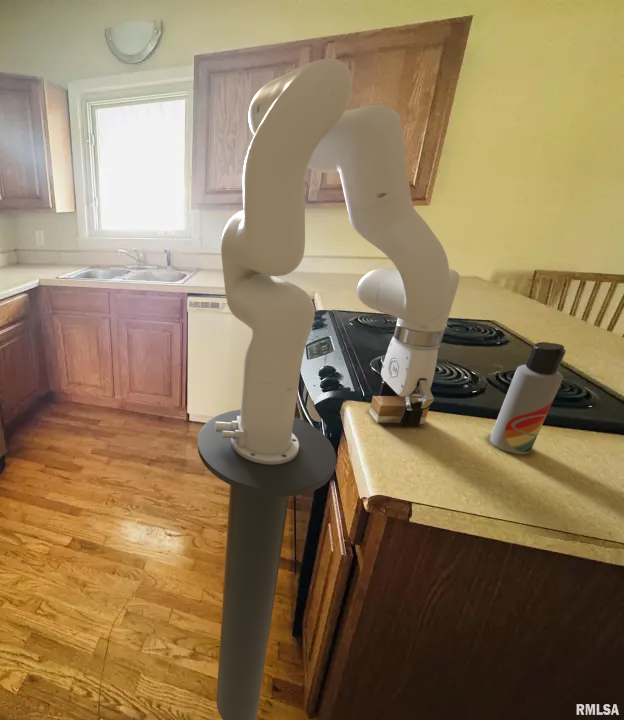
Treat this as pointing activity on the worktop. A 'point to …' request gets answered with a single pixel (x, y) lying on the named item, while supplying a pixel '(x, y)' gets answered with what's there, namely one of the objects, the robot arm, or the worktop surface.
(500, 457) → the worktop surface
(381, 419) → the scrub brush
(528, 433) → the lotion bottle
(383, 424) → the brown square tile
